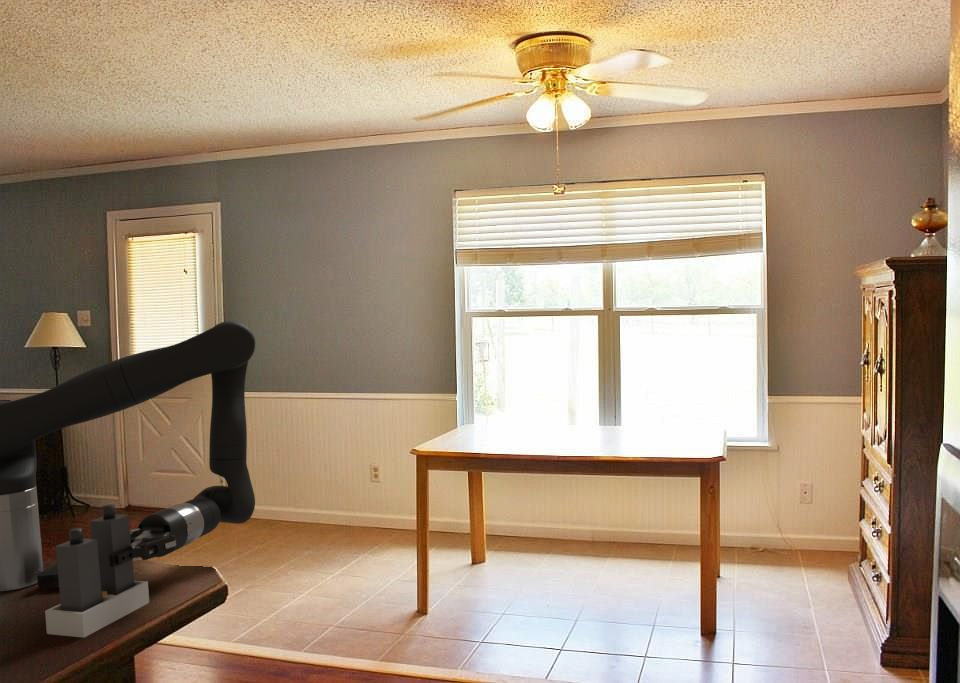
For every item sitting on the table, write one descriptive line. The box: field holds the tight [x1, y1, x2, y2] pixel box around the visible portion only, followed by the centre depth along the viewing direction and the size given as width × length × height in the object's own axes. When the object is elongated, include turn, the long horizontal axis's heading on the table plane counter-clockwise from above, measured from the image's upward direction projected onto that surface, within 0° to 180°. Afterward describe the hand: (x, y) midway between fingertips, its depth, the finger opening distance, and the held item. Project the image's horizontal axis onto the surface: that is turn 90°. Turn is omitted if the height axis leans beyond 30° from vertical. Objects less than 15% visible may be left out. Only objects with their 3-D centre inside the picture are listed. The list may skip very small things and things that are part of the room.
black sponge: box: [36, 564, 59, 590], centre depth 152 cm, size 16×8×4 cm, turn 171°
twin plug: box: [55, 527, 102, 612], centre depth 125 cm, size 4×4×15 cm
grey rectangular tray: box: [44, 579, 150, 639], centre depth 129 cm, size 14×7×5 cm, turn 162°
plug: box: [89, 503, 135, 595], centre depth 132 cm, size 4×4×15 cm
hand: (100, 560), depth 129 cm, fingers closed on plug, 4 cm apart
